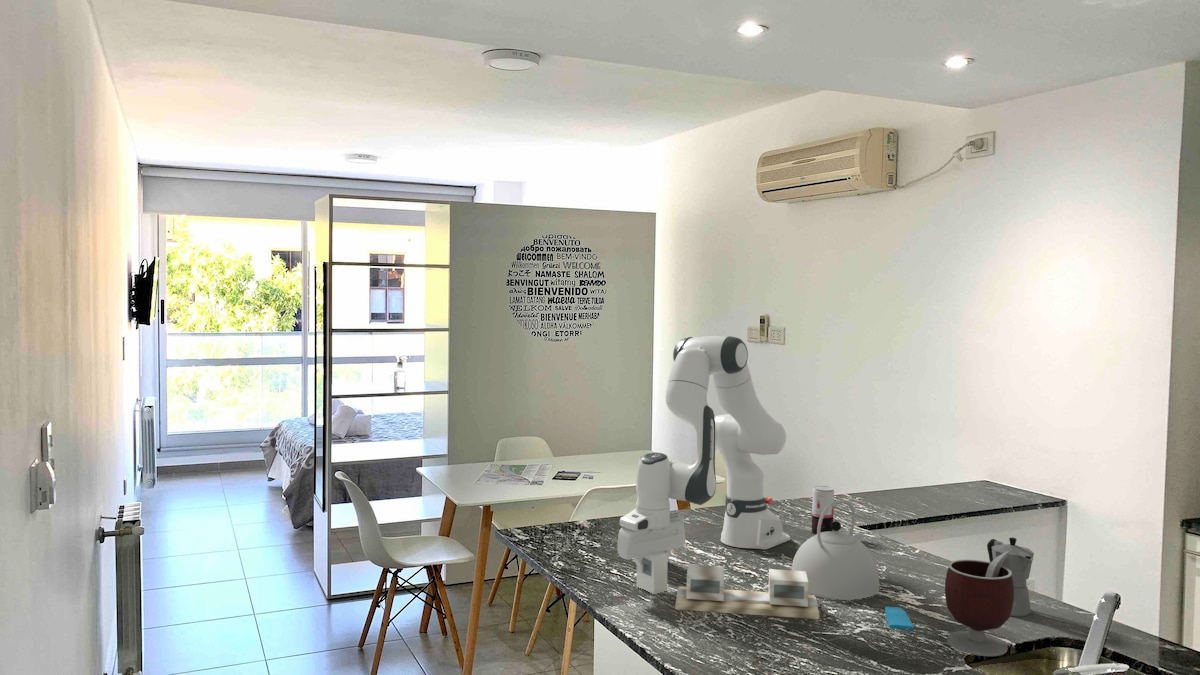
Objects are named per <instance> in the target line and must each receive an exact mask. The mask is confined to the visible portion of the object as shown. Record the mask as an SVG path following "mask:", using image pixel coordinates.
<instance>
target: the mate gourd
mask: <svg viewBox="0 0 1200 675" xmlns="http://www.w3.org/2000/svg"><path fill="white" fill-rule="evenodd" d="M1007 555H1010V553H1009V552H1008V551H1007V552H1005V553H1003V554H1001V555H1000V556H998V557H996V558H995V559H994V560H993V561H992V562H990V561H986V560H978V559H956V560H953V561H950V562H949V563H948V568H947V571H946V575H945V581H944V596H945V603H946V607H947V610H948V612H950V614H951V615H952V617H953V619H954V620H955V621H956V622H958V623H960V624H961V625H964V626H965V627H968V628H969V629H970V630H958V631H957V630H956V631H953V632H950V633H949V634H947V637H946V641H947V643H948V644H949V645H950V646H951V647H952V648H954V649H956V650H958V651H960V652H962V651H963V652H962V653H965V652H966V654H969V653H971V654H970V655H974V656H979V657H982V656H983V657H998V656H999V657H1000V656H1003V655H1005V654H1006V653H1007V652H1008V647H1009V646H1008V644H1007V642H1006V641H1004V640H1002V639H1001V638H1000V637H997V636H995V635H992V634H988V633H986V632H985V631H988V630H995V629H1000V628H1001V627H1002V626H1004V624H1005V623H1006V622H1007V621H1008V620H1009V619H1010V618H1011V616H1010V615H1011V612H1012V607H1013V601H1014V586H1013V579H1012V572H1011V570H1009V569H1008V568H1006V567H1004V566H1002V563H1003V561H1004V560H1005V558H1006V557H1007Z"/></svg>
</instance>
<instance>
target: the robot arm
mask: <svg viewBox="0 0 1200 675" xmlns="http://www.w3.org/2000/svg"><path fill="white" fill-rule="evenodd" d="M748 357H749V352H748V348H747V345H746V343H745V342H744V341H743V340H742V339H741V338H739V337H736V336H732V335H731V336H730V335H729V336H722V335H708V336H707V335H706V336H696V337H693V336H689V337H684V338H682V339H680V340H678V342H677V343H676V344H675V346H674V348H673V354H672V358H673V365H672V367H671V369H670V374H669V376H668V380H667V386H666V390H665V403H666V405H667V408H668V410H669V411H670V412H671V413H672V414H673V415H674V416H675V417H677V418H678V419H680V420H682V421H684V422H686V423H687V424H689V425H691V427H693V428H694V429H695V431H696V460H695V463H693V464H689V463H682V462H677V461H672V460H669V457H668V455H666V453H661V452H649V453H646V454H643V455H642V456H640V458H639V460H638V464H637V469H636V477H635V479H636V480H635V490H636V494H637V499H636V503H635V508H634V509H633V510H631V511H630V512H629V513H627V514H625V515H623V516H621V517H620V519H619V525H620V526H621V528H620V529H619V532H618V535H617V536H618V537H617V554H618V556H620V558H621V559H622V558H623V559H625V560H632V559H633V561H634V563H635V565H636V573H637V572H639V573H643V572H645V571H646V570H645V569H646V566H645V565H643V564H642V562H641V560H643V556H646V555H650V554H654V553H658V552H666V553H668V559H669V558H670V556H671V554H672V550H677V549H681V548H684V546H685V544H686V530H685V524H684V515H683V514H682V513H680V512H678V511H676V512H675V511H674V513H673V512H672V513H671V502H670V499H671V500H676V501H684V502H688V503H691V504H694V505H698V506H702V505H704V504H706V503H707V502H708V501H710V500H711V499H713V497H715V494H716V490H717V478H716V476H717V475H716V467H715V466H716V463H715V462H716V461H715V459H716V449H717V450H718V451H719V453H720V455H721V458H722V460H723V463H724V466H725V471H726V472H725V473H726V495H725V500H724V502H725V503H724V507H725V513H724V519H723V527H722V531H721V532H720V533H721V534H720V536H721V537H720V542H721V543H722V544H724V545H727V546H730V547H734V548H740V549H741V548H742V549H758V550H768V549H771V548H773V547H775V546H778V545H781V544H783V543H786V542H789V541H790V540H791V536H790V535H789V534H787V533H785V532H784V531H783V523H782V520H781V518H779V517H778V516H777V515H776V514H774V513H773V512H772V511H771V510H770V509H769V508H768V505H772V504H773V503H774V499H773V497H769V496H766V497H764V478H765V477H764V476H765V475H764V473H763V472H764V471H763V470H762V469H761V467H760V466H759V465H757V463H756V462H754V460H753V459H752V456H751V454H754V455H755V454H756V455H759V456H767V455H769V456H770V455H777V454H779V453H780V452H781V451H782V450H783V448H784V447H785V445H786V441H787V434H786V429H785V428H784V426H783V425H782V424H781V423H780V422H779V421H777V420H776V419H774V417H772V416H771V415H770V414H769V413H768V411H767V410H766V409H765V408H764V406H763V405H762V404H761V402H760V400H759V399H758V396H757V394H756V391H755V386H754V385H753V384H754V383H753V381H752V376H751V371H750V368H749V365H748V360H749V358H748ZM710 376H712V379H713V385H714V388H715V392H716V395H717V399H718V403H719V406H720V407H721V409H722V410H723V411H724V412H726V413H727V414H726V413H725V414H718V415H716V416H715V413H714V410H713V408H711V407H710V406H709V403H708V400H707V398H708V397H707V396H708V395H707V394H708V389H709V384H710V383H709V382H710ZM767 504H768V505H767Z"/></svg>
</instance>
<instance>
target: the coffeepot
mask: <svg viewBox="0 0 1200 675" xmlns="http://www.w3.org/2000/svg"><path fill="white" fill-rule="evenodd" d="M1008 539H1009V540H1008V541H1009V544H1008V543H1004V542H1002V541H999V540H996V539H994V538H991V539H990V540H989V541H988V542H987V544H986V549H987V553H988V559H989V560H988V561H989V562H992V561H993V560H994V559H995V558H996V557H998V556H1000V555H1001V554H1003V553H1005V552H1007V551H1008V552H1009V553H1010V555H1007V557H1006V558H1005V560H1004V561H1003V563H1002V566H1004V567H1006V568H1008V569H1009V570H1011V572H1012V579H1013V586H1014V601H1013V607H1012V612H1011V615H1010V617H1019V618H1020V617H1026V616H1029V615H1030V614H1031V613H1032V610H1031V602H1030V597H1029V596H1030V595H1029V588H1028V586H1027V580H1028V579H1029V578H1030V575H1031V574H1030V573H1031V569H1032V564H1033V560H1034V555H1035V553H1034V552H1033V551H1032V550H1031V549H1030V548H1027V547H1023V546H1019V545H1016V543H1017V538H1016V537H1009V538H1008Z"/></svg>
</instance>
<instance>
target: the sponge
mask: <svg viewBox="0 0 1200 675" xmlns="http://www.w3.org/2000/svg"><path fill="white" fill-rule="evenodd" d="M884 613H885V617H886V620H887V623H888V627H889V628H892V629H903V630H914V629H915V625H914V624H913V623H912V620H911V619H910V617H909V615H908V614H907V612H906V611H905V610H904V609H903V608H902V607H898V606H895V607H894V606H885V609H884Z"/></svg>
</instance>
